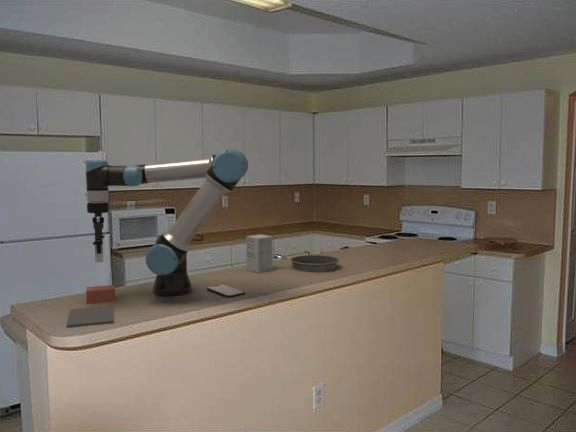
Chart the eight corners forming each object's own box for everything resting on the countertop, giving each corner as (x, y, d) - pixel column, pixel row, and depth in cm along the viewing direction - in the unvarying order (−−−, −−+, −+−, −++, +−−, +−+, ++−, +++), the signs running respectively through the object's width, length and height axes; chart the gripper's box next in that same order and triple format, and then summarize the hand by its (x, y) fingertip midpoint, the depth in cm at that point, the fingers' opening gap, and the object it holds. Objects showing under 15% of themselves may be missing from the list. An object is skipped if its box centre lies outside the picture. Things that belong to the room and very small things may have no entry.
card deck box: (114, 297, 195) (114, 284, 195) (115, 302, 189) (115, 288, 189) (87, 299, 192) (86, 287, 191) (86, 304, 186) (86, 291, 185)
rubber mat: (112, 307, 180) (112, 305, 180) (113, 322, 164) (113, 320, 164) (70, 311, 176) (70, 309, 176) (66, 327, 159) (66, 325, 159)
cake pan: (316, 261, 270) (316, 253, 270) (349, 269, 251) (349, 260, 251) (279, 267, 255) (279, 258, 255) (312, 275, 236) (312, 266, 236)
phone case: (246, 296, 200) (223, 287, 212) (246, 292, 200) (223, 283, 212) (227, 300, 195) (205, 291, 207) (227, 296, 194) (205, 287, 206)
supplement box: (261, 267, 252) (261, 234, 250) (273, 270, 245) (273, 236, 244) (245, 270, 246) (245, 235, 244) (257, 273, 239) (257, 238, 237)
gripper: (87, 199, 197) (89, 253, 199) (85, 204, 173) (87, 265, 176) (108, 199, 199) (109, 252, 202) (108, 204, 176) (110, 264, 178)
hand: (99, 258), depth 189 cm, fingers open, 13 cm apart
